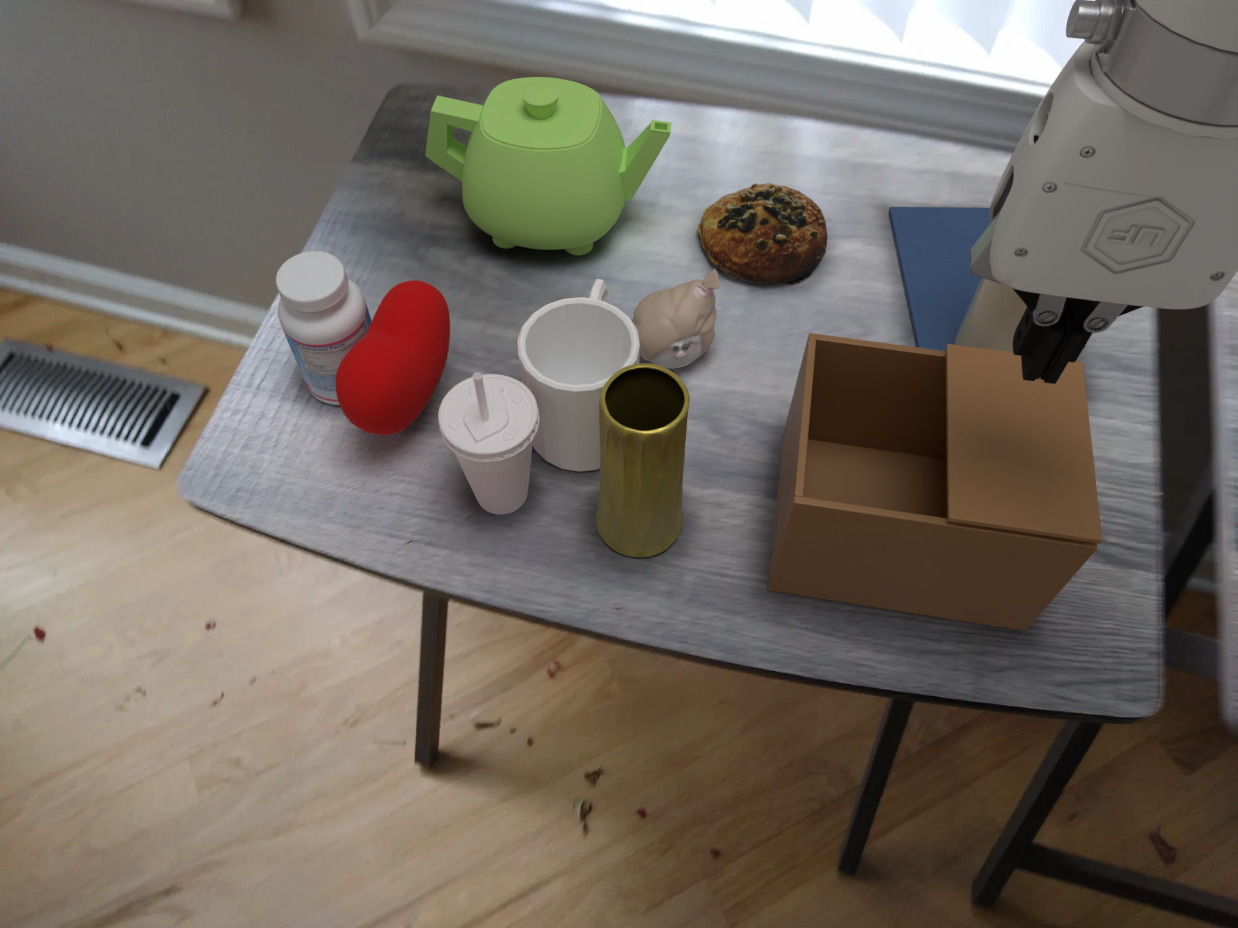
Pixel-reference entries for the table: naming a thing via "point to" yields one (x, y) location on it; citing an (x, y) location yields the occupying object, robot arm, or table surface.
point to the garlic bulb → (677, 322)
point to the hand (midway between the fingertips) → (1036, 361)
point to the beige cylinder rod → (991, 317)
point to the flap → (1018, 447)
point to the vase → (641, 459)
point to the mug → (574, 372)
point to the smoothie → (492, 437)
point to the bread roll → (765, 234)
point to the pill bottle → (320, 317)
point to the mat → (937, 267)
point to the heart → (396, 360)
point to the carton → (894, 498)
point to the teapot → (542, 162)
